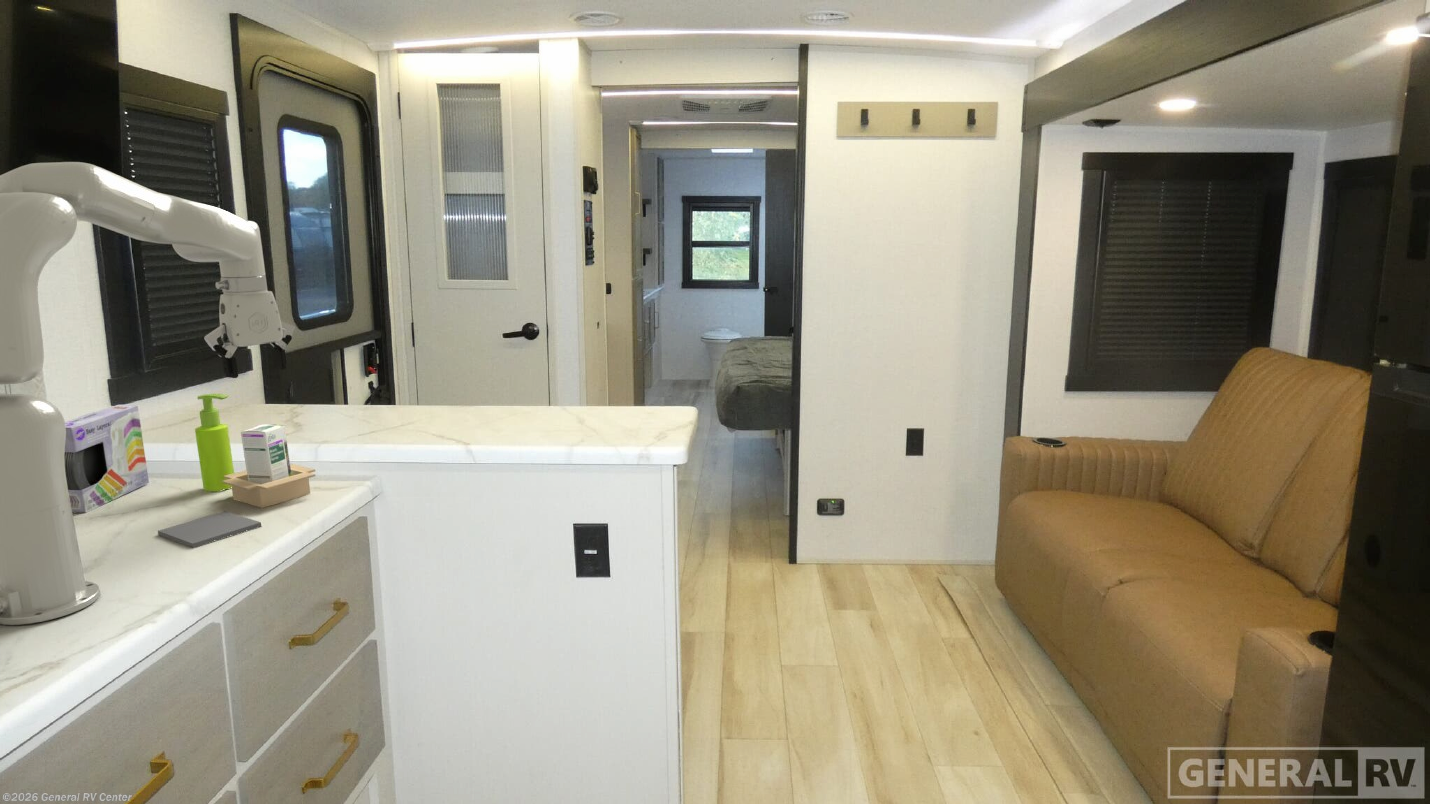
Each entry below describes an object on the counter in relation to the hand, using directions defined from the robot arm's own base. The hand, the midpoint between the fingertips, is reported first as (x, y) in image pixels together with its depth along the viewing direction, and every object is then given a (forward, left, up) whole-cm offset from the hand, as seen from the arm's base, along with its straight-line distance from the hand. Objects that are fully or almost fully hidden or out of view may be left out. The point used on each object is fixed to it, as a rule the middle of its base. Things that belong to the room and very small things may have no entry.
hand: (256, 373), depth 168 cm
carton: (0, 0, -26) cm, 26 cm away
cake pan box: (-18, +28, -26) cm, 42 cm away
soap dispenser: (-2, +15, -26) cm, 30 cm away
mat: (-17, -9, -26) cm, 32 cm away
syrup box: (0, 0, -26) cm, 26 cm away
